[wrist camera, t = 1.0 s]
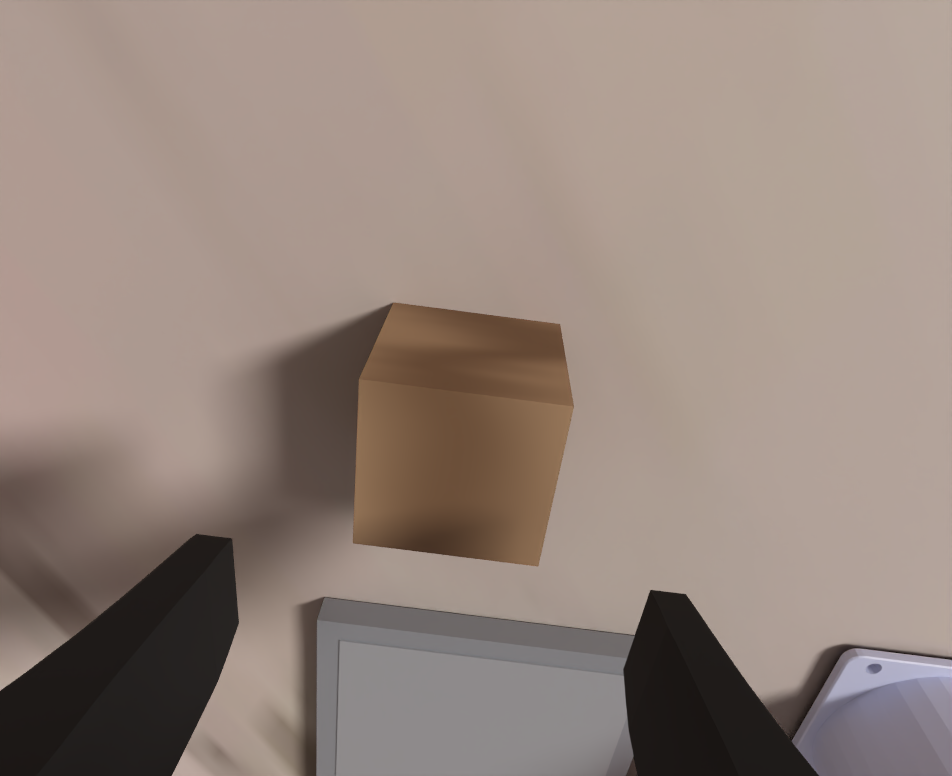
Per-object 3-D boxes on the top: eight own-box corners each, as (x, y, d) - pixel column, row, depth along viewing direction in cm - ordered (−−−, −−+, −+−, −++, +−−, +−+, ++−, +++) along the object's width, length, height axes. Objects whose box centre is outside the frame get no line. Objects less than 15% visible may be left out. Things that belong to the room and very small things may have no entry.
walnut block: (559, 323, 17) (573, 406, 13) (532, 460, 20) (538, 566, 16) (393, 301, 17) (359, 379, 13) (385, 441, 20) (352, 543, 16)
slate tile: (663, 639, 23) (670, 665, 22) (593, 826, 28) (596, 853, 28) (324, 597, 23) (316, 621, 22) (322, 793, 28) (315, 819, 27)
